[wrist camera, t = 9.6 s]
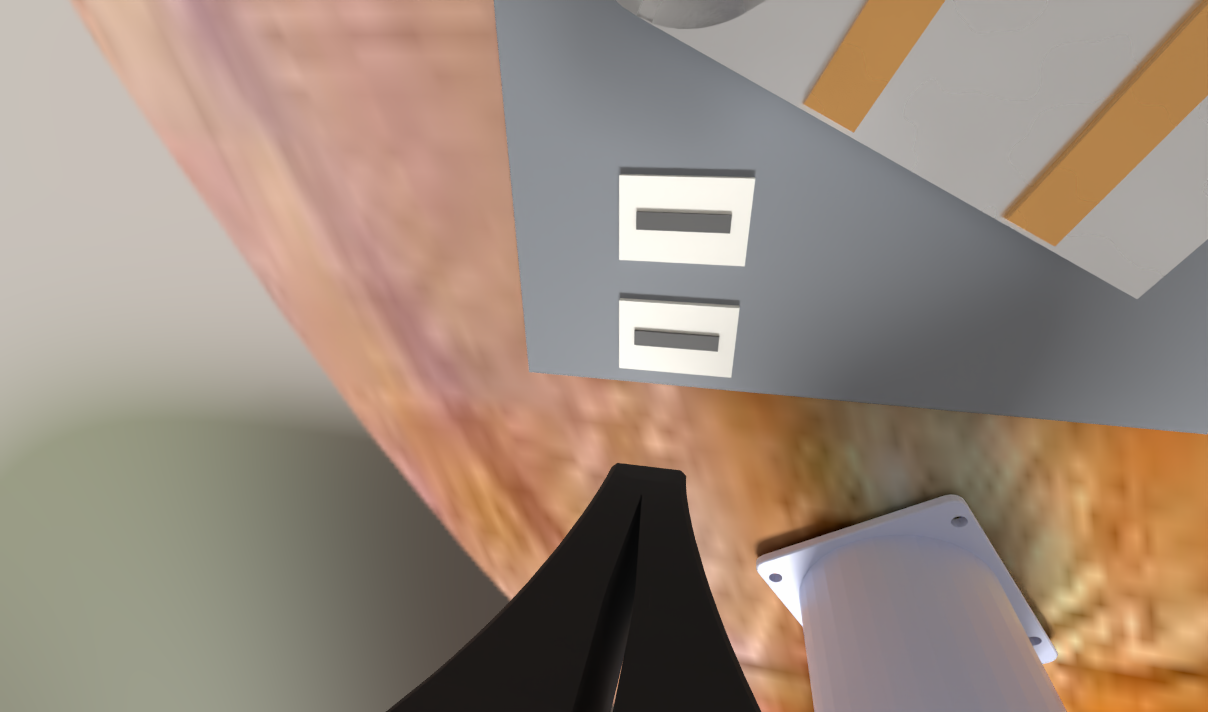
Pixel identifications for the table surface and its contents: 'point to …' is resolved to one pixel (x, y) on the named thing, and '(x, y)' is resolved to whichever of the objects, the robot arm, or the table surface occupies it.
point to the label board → (797, 250)
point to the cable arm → (1001, 106)
